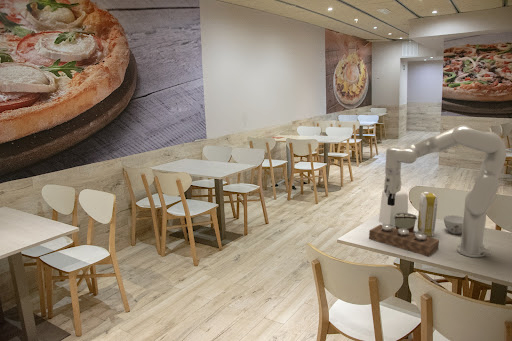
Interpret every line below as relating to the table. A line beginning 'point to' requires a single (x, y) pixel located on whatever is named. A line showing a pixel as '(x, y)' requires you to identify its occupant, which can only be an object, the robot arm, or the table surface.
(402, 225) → the food container
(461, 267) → the table surface
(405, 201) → the milk
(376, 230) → the knob mount
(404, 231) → the knob
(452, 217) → the teacup
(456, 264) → the table surface
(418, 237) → the knob
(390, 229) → the knob
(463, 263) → the table surface
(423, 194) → the juice carton
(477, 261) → the table surface
